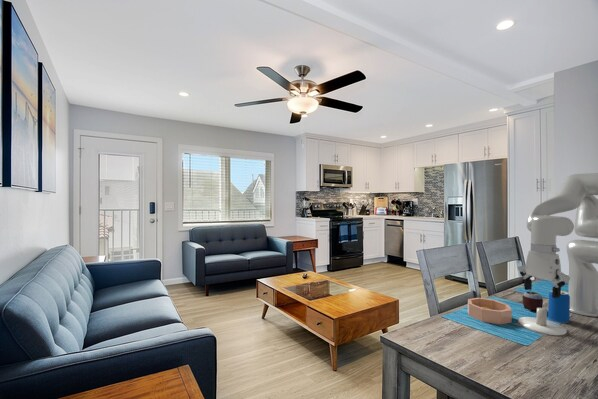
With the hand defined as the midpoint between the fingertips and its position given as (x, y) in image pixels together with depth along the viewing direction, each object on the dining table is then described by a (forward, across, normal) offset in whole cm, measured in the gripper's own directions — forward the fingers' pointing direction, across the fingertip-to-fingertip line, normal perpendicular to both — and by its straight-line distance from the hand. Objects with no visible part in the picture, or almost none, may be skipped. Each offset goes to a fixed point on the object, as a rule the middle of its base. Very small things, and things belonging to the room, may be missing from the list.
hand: (541, 293), depth 114 cm
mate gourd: (+13, +13, -16) cm, 25 cm away
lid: (+13, 0, -1) cm, 13 cm away
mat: (+14, 0, -1) cm, 14 cm away
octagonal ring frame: (+14, +14, +9) cm, 22 cm away
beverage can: (+13, +2, -15) cm, 20 cm away
